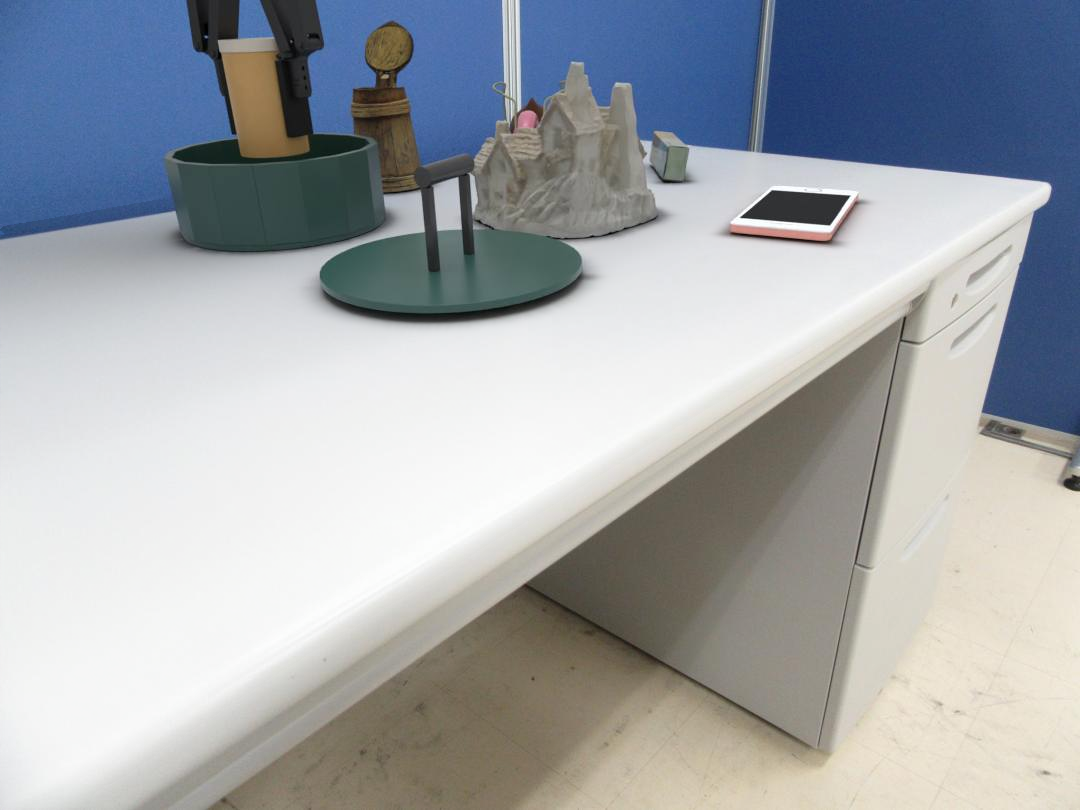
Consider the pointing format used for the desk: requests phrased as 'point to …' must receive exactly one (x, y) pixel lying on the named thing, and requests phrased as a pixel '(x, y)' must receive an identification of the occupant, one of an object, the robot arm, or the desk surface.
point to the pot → (276, 194)
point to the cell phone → (796, 213)
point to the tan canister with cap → (257, 98)
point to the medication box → (669, 156)
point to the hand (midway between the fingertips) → (272, 133)
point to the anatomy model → (525, 111)
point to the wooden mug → (388, 107)
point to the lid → (450, 260)
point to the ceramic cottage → (567, 168)
